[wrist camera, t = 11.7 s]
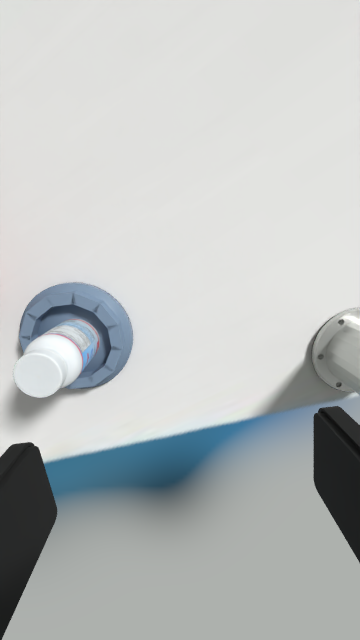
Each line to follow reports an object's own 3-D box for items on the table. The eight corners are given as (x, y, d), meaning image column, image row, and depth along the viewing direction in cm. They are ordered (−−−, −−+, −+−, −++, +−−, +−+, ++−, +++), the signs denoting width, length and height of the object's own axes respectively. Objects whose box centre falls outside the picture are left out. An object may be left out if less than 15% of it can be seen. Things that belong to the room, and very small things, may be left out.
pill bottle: (79, 368, 37) (40, 416, 26) (46, 337, 35) (-10, 375, 24) (110, 340, 36) (83, 378, 25) (77, 308, 34) (33, 333, 24)
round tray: (123, 276, 35) (118, 278, 32) (140, 378, 39) (137, 388, 36) (11, 289, 35) (-3, 293, 32) (40, 390, 39) (29, 401, 36)
